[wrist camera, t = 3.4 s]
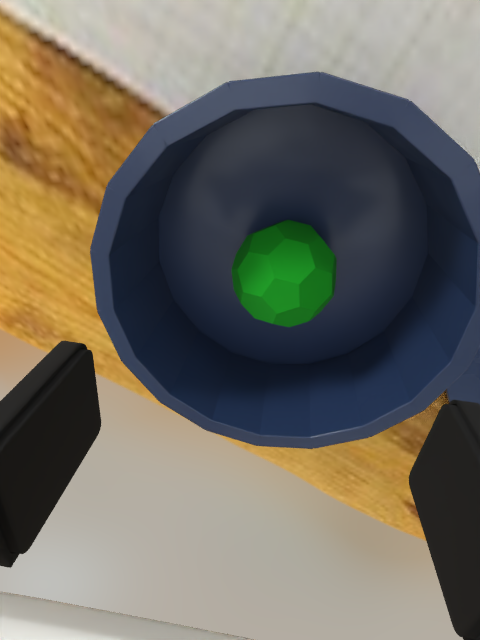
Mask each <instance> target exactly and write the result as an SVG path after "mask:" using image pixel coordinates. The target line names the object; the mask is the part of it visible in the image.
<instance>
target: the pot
mask: <svg viewBox="0 0 480 640" xmlns="http://www.w3.org/2000/svg"><path fill="white" fill-rule="evenodd" d="M285 220H291V221H295V222H299V223H303V224H307V225H311V227H312V228H313V229H314V230H315V231H316V232H317V233H318V235H319V236H320V237H321V238H322V239H323V241H324V242H325V243H326V244H327V246H328V247H329V248H330V250H331V251H332V252H333V253H334V255H335V256H336V258H337V262H336V283H335V290H334V296H333V298H332V299H331V300H330V301H329V302H328V304H327V305H326V306H325V307H324V308H323V310H322V311H321V312H320V313H319V314H317V315H316V316H315V317H314V318H313V319H311V320H310V321H309V322H305V323H302V324H299V325H295V326H292V327H285V326H280V325H276V324H271V323H268V322H265V321H262V320H258V319H255V318H254V317H253V316H252V315H251V314H250V313H249V312H248V311H247V310H246V309H245V308H244V306H243V305H242V304H241V303H240V301H239V299H238V297H237V295H236V293H235V291H234V288H233V279H232V271H231V269H232V266H233V263H234V259H235V256H236V253H237V251H238V250H239V248H240V247H241V245H242V243H243V242H244V240H245V238H246V237H247V235H250V234H252V233H254V232H256V231H259V230H261V229H263V228H266V227H268V226H271V225H274V224H276V223H279V222H282V221H285ZM90 249H91V251H90V254H91V262H92V271H93V279H94V288H95V296H96V305H97V310H98V311H97V312H98V314H99V316H100V318H101V320H102V322H103V324H104V326H105V328H106V330H107V332H108V334H109V336H110V338H111V340H112V343H113V345H114V347H115V349H116V351H117V353H118V355H119V357H120V359H121V361H122V362H123V363H124V364H125V365H126V367H127V368H128V369H129V370H130V371H131V372H132V373H133V374H134V375H135V376H136V377H137V378H138V379H139V380H140V381H141V383H142V384H143V385H144V386H145V387H146V388H147V389H148V390H149V391H150V392H151V393H152V394H153V395H154V396H155V397H156V399H157V400H158V401H160V403H162V404H164V405H165V406H167V407H169V408H170V409H172V410H173V411H175V412H177V413H178V414H180V415H182V416H183V417H185V418H187V419H188V420H190V421H192V422H193V423H195V424H196V425H198V426H200V427H201V428H203V429H205V430H207V431H210V432H213V433H216V434H220V435H223V436H226V437H230V438H233V439H236V440H239V441H243V442H246V443H249V444H253V445H256V446H268V447H287V448H307V449H313V448H319V447H324V446H329V445H334V444H339V443H344V442H349V441H354V440H359V439H364V438H368V437H372V436H374V435H376V434H378V433H380V432H382V431H384V430H386V429H388V428H390V427H392V426H394V425H396V424H398V423H400V422H402V421H404V420H406V419H408V418H410V417H412V416H414V415H416V414H418V413H420V412H422V410H423V411H424V410H425V409H426V408H427V407H428V406H429V405H430V404H431V403H432V402H434V401H435V400H436V399H437V398H438V397H439V396H440V395H441V394H442V393H443V392H444V391H445V390H446V389H447V388H448V387H449V386H450V385H451V384H452V383H453V382H455V381H456V380H457V379H458V378H459V377H460V376H461V375H462V374H463V373H464V372H465V371H466V370H467V369H468V368H469V366H470V365H471V363H472V361H473V359H474V357H475V355H476V353H477V351H478V349H479V347H480V172H479V169H478V167H477V164H476V162H475V161H474V159H473V158H472V157H471V156H470V155H469V154H468V153H467V152H466V151H465V150H464V149H463V148H462V147H460V146H459V145H458V144H457V143H456V142H455V141H454V140H453V139H452V138H451V137H450V136H449V135H447V134H446V133H445V132H444V131H443V130H442V129H441V128H440V127H439V126H438V125H437V124H435V123H434V122H433V121H432V120H431V119H430V118H429V117H428V116H427V115H426V114H425V113H424V112H422V111H421V110H420V109H419V108H418V107H417V106H416V105H415V104H414V103H413V102H412V101H409V100H408V99H405V98H402V97H399V96H396V95H393V94H390V93H386V92H383V91H380V90H377V89H374V88H371V87H368V86H364V85H361V84H358V83H355V82H352V81H349V80H346V79H343V78H339V77H336V76H333V75H330V74H327V73H324V72H321V73H320V72H311V73H302V74H292V75H283V76H274V77H265V78H255V79H246V80H237V81H229V82H226V83H224V84H222V85H221V86H219V87H217V88H215V89H214V90H212V91H210V92H208V93H207V94H205V95H203V96H201V97H199V98H198V99H196V100H194V101H192V102H191V103H189V104H187V105H185V106H184V107H182V108H180V109H178V110H177V111H175V112H173V113H171V114H169V115H168V116H166V117H164V118H162V119H161V120H159V121H157V122H155V123H154V125H152V126H151V127H150V129H149V130H148V131H147V133H146V134H145V135H144V137H143V138H142V139H141V140H140V142H139V143H138V144H137V146H136V147H135V148H134V150H133V151H132V152H131V154H130V155H129V156H128V158H127V159H126V160H125V161H124V163H123V164H122V165H121V167H120V168H119V169H118V171H117V172H116V173H115V175H114V176H113V177H112V179H111V180H110V181H109V182H108V185H107V187H106V190H105V194H104V198H103V202H102V206H101V210H100V213H99V217H98V221H97V225H96V229H95V233H94V236H93V240H92V244H91V248H90Z"/></svg>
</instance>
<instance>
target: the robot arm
mask: <svg viewBox="0 0 480 640" xmlns="http://www.w3.org/2000/svg"><path fill="white" fill-rule="evenodd" d="M100 427H101V417H100V410H99V401H98V393H97V385H96V377H95V369H94V361H93V354H92V352H91V350H87V347H86V345H85V344H82V343H76V342H69V341H61V342H60V343H59V344H58V345H57V346H56V347H55V348H54V349H53V350H52V351H51V352H50V353H49V354H48V355H47V356H46V357H44V358H43V360H41V362H39V363H38V364H37V366H35V368H34V369H32V370H31V371H30V372H29V373H28V375H26V376H25V377H24V378H23V379H22V381H20V382H19V383H18V384H17V385H16V386H15V387H14V388H13V389H12V390H11V391H10V392H9V393H8V394H7V395H6V396H5V397H4V398H3V399H2V400H1V401H0V566H5V567H12V565H13V563H14V562H15V560H16V558H17V557H18V555H19V554H24V553H25V552H26V551H27V550H28V549H29V548H30V547H31V545H32V543H33V542H34V540H35V538H36V537H37V535H38V533H39V532H40V530H41V528H42V527H43V525H44V524H45V522H46V520H47V519H48V517H49V515H50V514H51V512H52V510H53V509H54V507H55V505H56V504H57V502H58V500H59V499H60V497H61V495H62V494H63V492H64V490H65V489H66V487H67V485H68V484H69V482H70V480H71V479H72V477H73V475H74V474H75V472H76V470H77V469H78V467H79V465H80V464H81V462H82V460H83V459H84V457H85V456H86V454H87V452H88V450H89V449H90V447H91V445H92V444H93V442H94V441H95V439H96V437H97V435H98V434H99V431H100ZM409 485H410V489H411V492H412V495H413V499H414V502H415V505H416V508H417V512H418V515H419V518H420V521H421V524H422V528H423V531H424V534H425V537H426V541H427V544H428V547H429V550H430V554H431V557H432V560H433V563H434V566H435V570H436V573H437V576H438V579H439V583H440V586H441V589H442V592H443V596H444V598H445V602H446V605H447V608H448V612H449V615H450V618H451V621H452V624H453V627H454V630H455V631H456V633H457V634H458V635H459V636H460V637H463V639H464V640H480V404H478V403H475V402H468V401H461V400H452V401H450V403H449V404H444V405H443V406H442V407H441V409H440V411H439V413H438V415H437V417H436V420H435V422H434V424H433V426H432V428H431V430H430V432H429V434H428V436H427V438H426V440H425V442H424V445H423V447H422V449H421V451H420V453H419V455H418V457H417V459H416V461H415V463H414V465H413V467H412V470H411V472H410V475H409ZM0 640H254V639H248V638H244V637H239V636H233V635H228V634H223V633H217V632H213V631H208V630H202V629H197V628H193V627H187V626H182V625H177V624H172V623H167V622H162V621H157V620H151V619H146V618H141V617H135V616H130V615H125V614H119V613H114V612H109V611H104V610H99V609H93V608H88V607H83V606H78V605H72V604H67V603H61V602H57V601H51V600H46V599H41V598H35V597H29V596H23V595H17V594H11V593H5V592H0Z"/></svg>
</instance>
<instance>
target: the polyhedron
mask: <svg viewBox="0 0 480 640" xmlns="http://www.w3.org/2000/svg"><path fill="white" fill-rule="evenodd" d="M336 262H337V258H336V256H335V255H334V253H333V252H332V251H331V250H330V248H329V247H328V246H327V244H326V243H325V242H324V241H323V239H322V238H321V237H320V236H319V235H318V233H317V232H316V231H315V230H314V229H313V228H312V227H311V225H307V224H303V223H299V222H295V221H291V220H285V221H282V222H279V223H276V224H274V225H271V226H268V227H266V228H263V229H261V230H259V231H256V232H254V233H252V234H250V235H247V237H246V238H245V240H244V242H243V243H242V245H241V247H240V248H239V250H238V251H237V253H236V256H235V259H234V263H233V266H232V269H231V271H232V279H233V288H234V291H235V293H236V295H237V297H238V299H239V301H240V303H241V304H242V305H243V306H244V308H245V309H246V310H247V311H248V312H249V313H250V314H251V315H252V316H253V317H254V318H255V319H258V320H262V321H265V322H268V323H271V324H276V325H280V326H285V327H292V326H295V325H299V324H302V323H305V322H309V321H310V320H311V319H313V318H314V317H315V316H316V315H317V314H319V313H320V312H321V311H322V310H323V308H324V307H325V306H326V305H327V304H328V302H329V301H330V300H331V299H332V298H333V296H334V290H335V283H336Z"/></svg>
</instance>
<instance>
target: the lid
mask: <svg viewBox="0 0 480 640" xmlns="http://www.w3.org/2000/svg"><path fill="white" fill-rule="evenodd" d="M445 391H446V396H447V398H448V401H449V403H450V401H452V400H461V401H468V402H475V403H478V404H480V347H479V349H478V351H477V353H476V355H475V357H474V359H473V361H472V363H471V365H470V366H469V368H468V369H467V370H466V371H465V372H464V373H463V374H462V375H461V376H460V377H459V378H458V379H457V380H456V381H455V382H453V383H452V384H451V385H450V386H449V387H448V388H447V389H446V390H445Z"/></svg>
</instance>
